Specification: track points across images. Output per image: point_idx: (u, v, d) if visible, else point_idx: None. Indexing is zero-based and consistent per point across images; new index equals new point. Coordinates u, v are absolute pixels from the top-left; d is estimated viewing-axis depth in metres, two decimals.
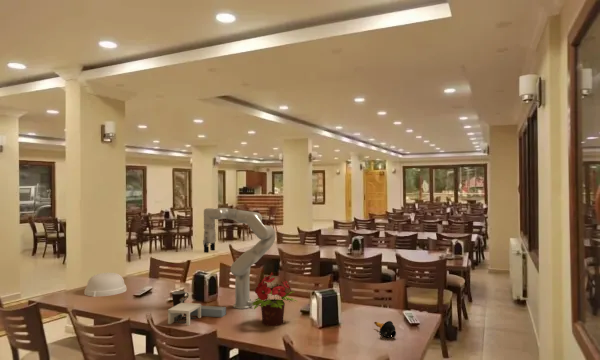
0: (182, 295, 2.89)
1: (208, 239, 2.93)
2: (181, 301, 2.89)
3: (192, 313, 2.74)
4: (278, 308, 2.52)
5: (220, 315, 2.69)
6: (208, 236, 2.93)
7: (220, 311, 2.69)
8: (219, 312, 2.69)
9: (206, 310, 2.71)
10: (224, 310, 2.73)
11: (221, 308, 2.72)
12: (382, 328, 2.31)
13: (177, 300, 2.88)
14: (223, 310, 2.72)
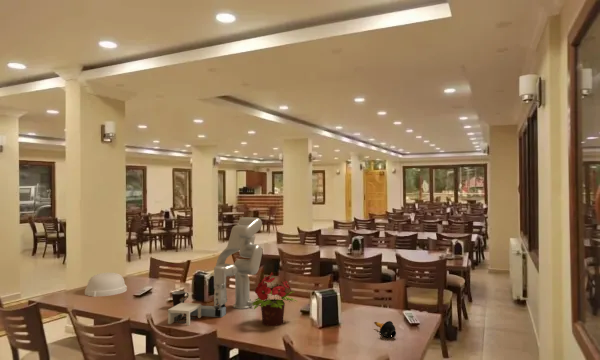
0: (182, 295, 2.89)
1: (219, 301, 2.68)
2: (181, 301, 2.89)
3: (192, 313, 2.74)
4: (278, 308, 2.52)
5: (220, 315, 2.69)
6: (219, 298, 2.68)
7: (220, 311, 2.69)
8: None
9: (206, 310, 2.71)
10: (224, 310, 2.73)
11: (221, 308, 2.72)
12: (382, 328, 2.31)
13: (177, 300, 2.88)
14: (223, 310, 2.72)
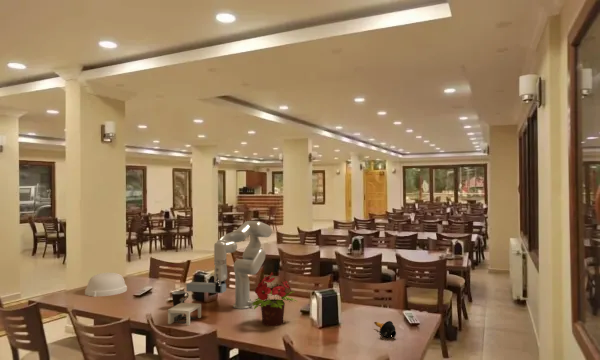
0: (182, 295, 2.89)
1: (219, 277, 2.67)
2: (181, 301, 2.89)
3: (192, 289, 2.73)
4: (278, 308, 2.52)
5: (220, 291, 2.69)
6: (219, 273, 2.67)
7: (220, 287, 2.69)
8: None
9: (206, 286, 2.71)
10: (224, 286, 2.73)
11: (221, 284, 2.72)
12: (382, 328, 2.31)
13: (177, 300, 2.88)
14: (223, 286, 2.71)
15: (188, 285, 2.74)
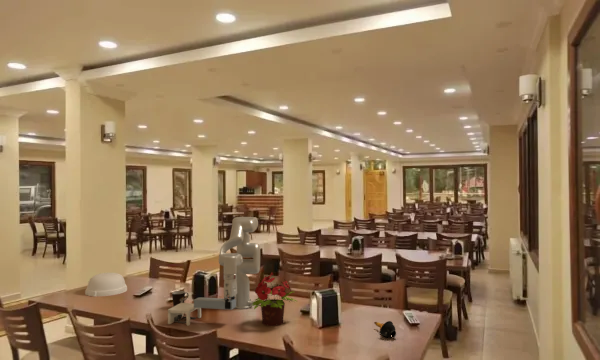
0: (182, 295, 2.89)
1: (229, 292, 2.51)
2: (181, 301, 2.89)
3: (200, 305, 2.57)
4: (278, 308, 2.52)
5: (230, 307, 2.52)
6: (229, 289, 2.51)
7: (230, 303, 2.53)
8: None
9: (215, 302, 2.55)
10: (234, 302, 2.56)
11: (231, 300, 2.56)
12: (382, 328, 2.31)
13: (177, 300, 2.88)
14: (233, 302, 2.55)
15: (195, 301, 2.58)
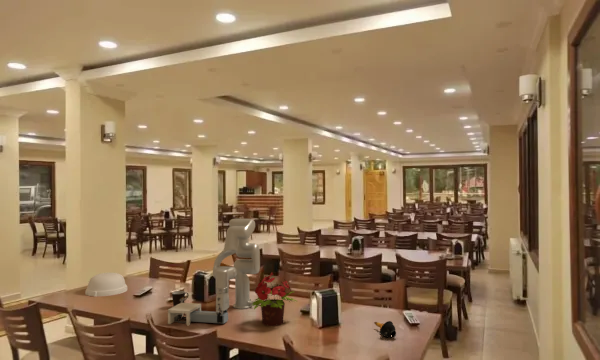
0: (182, 295, 2.89)
1: (221, 306, 2.52)
2: (181, 301, 2.89)
3: (192, 319, 2.58)
4: (278, 308, 2.52)
5: None
6: (221, 303, 2.53)
7: None
8: None
9: (207, 316, 2.56)
10: (226, 316, 2.58)
11: (223, 314, 2.57)
12: (382, 328, 2.31)
13: (177, 300, 2.88)
14: (225, 316, 2.56)
15: None
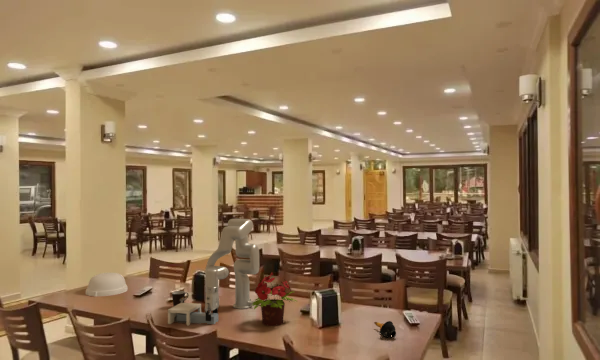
0: (182, 295, 2.89)
1: (210, 306, 2.54)
2: (181, 301, 2.89)
3: (183, 320, 2.60)
4: (278, 308, 2.52)
5: (212, 322, 2.56)
6: (210, 302, 2.54)
7: (212, 318, 2.56)
8: (211, 319, 2.56)
9: (197, 317, 2.58)
10: (216, 317, 2.59)
11: (213, 315, 2.59)
12: (382, 328, 2.31)
13: (177, 300, 2.88)
14: (215, 317, 2.58)
15: (178, 315, 2.60)
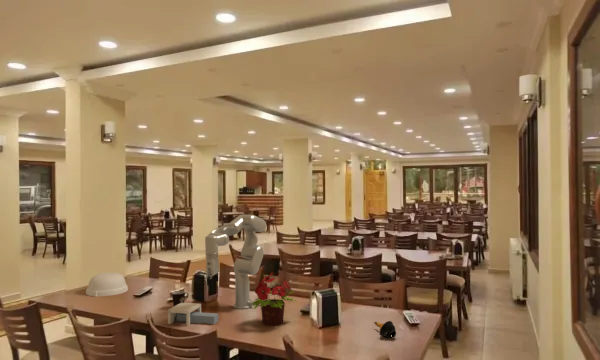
0: (182, 295, 2.89)
1: (211, 271, 2.62)
2: (181, 301, 2.89)
3: (183, 320, 2.60)
4: (278, 308, 2.52)
5: (212, 322, 2.56)
6: (211, 267, 2.62)
7: (212, 318, 2.56)
8: (211, 319, 2.56)
9: (197, 317, 2.58)
10: (216, 317, 2.59)
11: (213, 315, 2.59)
12: (382, 328, 2.31)
13: (177, 300, 2.88)
14: (215, 317, 2.58)
15: (178, 315, 2.60)
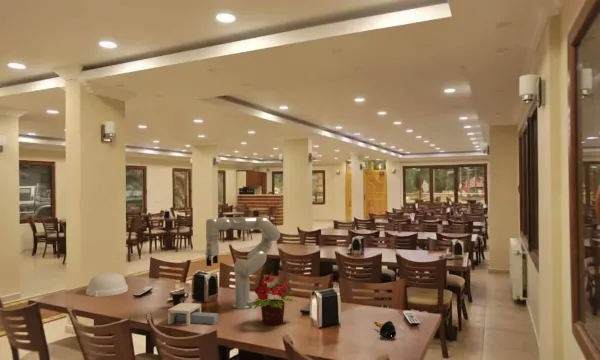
0: (182, 295, 2.89)
1: (211, 252, 2.77)
2: (181, 301, 2.89)
3: (183, 320, 2.60)
4: (278, 308, 2.52)
5: (212, 322, 2.56)
6: (211, 248, 2.77)
7: (212, 318, 2.56)
8: (211, 319, 2.56)
9: (197, 317, 2.58)
10: (216, 317, 2.59)
11: (213, 315, 2.59)
12: (382, 328, 2.31)
13: (177, 300, 2.88)
14: (215, 317, 2.58)
15: (178, 315, 2.60)
